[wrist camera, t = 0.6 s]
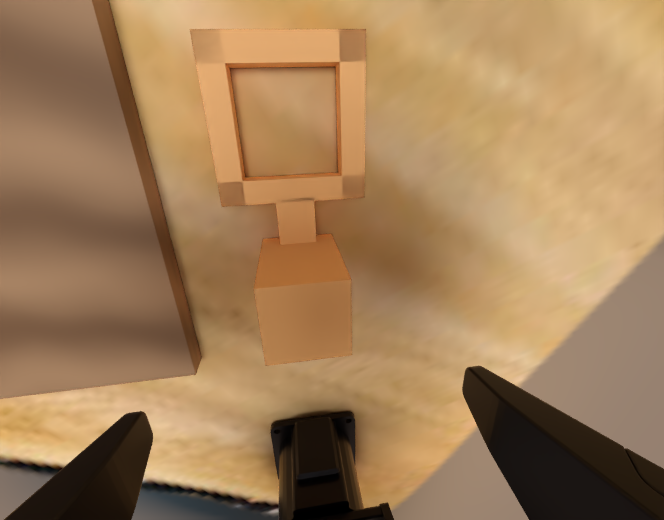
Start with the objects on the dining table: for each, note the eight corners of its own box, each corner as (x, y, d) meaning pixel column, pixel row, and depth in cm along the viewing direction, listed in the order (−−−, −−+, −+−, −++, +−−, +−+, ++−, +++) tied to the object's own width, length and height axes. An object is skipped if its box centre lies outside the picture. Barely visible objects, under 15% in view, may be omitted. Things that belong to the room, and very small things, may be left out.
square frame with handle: (359, 289, 20) (386, 350, 15) (243, 301, 19) (227, 370, 14) (359, 36, 15) (404, -17, 9) (197, 36, 14) (140, -21, 8)
